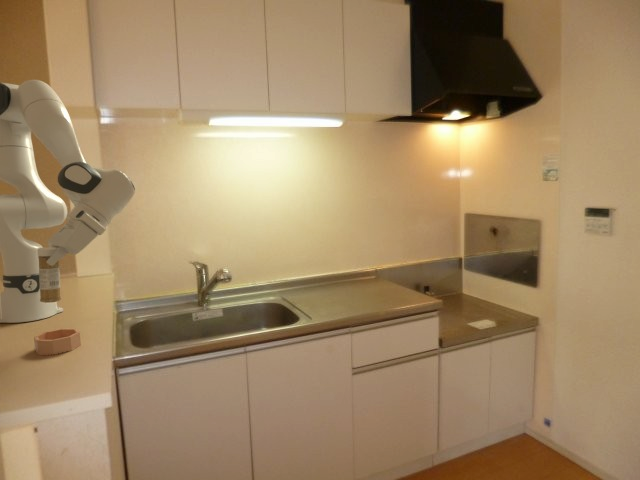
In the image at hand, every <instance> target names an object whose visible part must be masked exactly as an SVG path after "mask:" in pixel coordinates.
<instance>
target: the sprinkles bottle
mask: <svg viewBox="0 0 640 480" xmlns="http://www.w3.org/2000/svg"><path fill="white" fill-rule="evenodd" d="M57 249H58V248H57V247H51V246H47V247H43V248H39V249H38V258H39V283H40V301H41V302H44V303H50V302H59V301H61V300H62V297H61V271H60V260H59V261H57V262H56V263H55V264H54V265H53V266H50V265H48V264H47V263H46V262H45V261H46V260H47V259H48V258H49V257H50V256H51V255H52V254H53V253H54V252H56V250H57Z"/></svg>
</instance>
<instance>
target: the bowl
mask: <svg viewBox="0 0 640 480" xmlns="http://www.w3.org/2000/svg"><path fill="white" fill-rule="evenodd" d="M33 339H34V350H35V352H36V354H37V355H38V356H39V355H41V356H42V355H45V356H49V355H50V356H53V354H55V355H58V353H59V354H62V352H63V353H67V352H66V351H68V352H72V351H73V349H74V350H75V349H77V348H78V347H80V346H81V345H82V344H81V343H82V342H81V331H80V330H78V329H77V328H57V329H55V330H54V329H53V330H49V331H44V332H41V333H40V334H39V333H38V334H37V335H35V336H34V337H33ZM48 354H49V355H48ZM51 354H52V355H51Z"/></svg>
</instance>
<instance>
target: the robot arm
mask: <svg viewBox="0 0 640 480" xmlns="http://www.w3.org/2000/svg"><path fill="white" fill-rule="evenodd" d="M32 134H33V135H34V136H35V137H36V139H38V140H39V142H40V143H41V144H42V145H43V146H44V148H45V149H47V150H48V151H49V153H51V155H52V156H53V157H54V158H55V160H57V162H58V163H59V164H60V166H61V167H62V168H61V170H60V171H59V172H58V175H57V183H58V184H59V187H60V189H61V190H62V191H63V193H64V194H65V195H66V197H67V198H68V199H69V200H70V202H71V203H72V204H73V208H72V209H71V210H70V211H69V212H68V207H67V203H65V201H64V199H62V198H61V197H60V196H59V195H58V194H57V195H56V194H55V193H54V192H52V191H51V190H50V189H49V188H48V187H47V186H46V185H45V183H44V182H43V181H42V180H41V178H40V176H39V173H38V168H37V165H36V159H35V152H34V148H33V147H34V146H33V141H32ZM0 181H1V182H3V183H6V184H8V185H10V186H12V187H13V188H15V189H16V190H17V191H18V194H17V193H15V194H14V193H13V194H11V193H10V194H7V193H6V194H5V193H3V194H2V193H1V194H0V255H1V260H2V267H3V275H2V279H1V280H2V287H3V290H2V292H0V323H5V324H6V323H8V324H12V323H13V324H15V323H24V322H25V323H26V322H32V321H34V322H35V321H38V320H44V319H46V318H49V317H52V316H54V315H57V314H59V313H63V312H64V308H63V307H60V306H58V303H57V302H58V301H57V302H50V303H44V302H41V301H40V283H39V258H38V249H39V248H44V247H43V246H42V244H40V243H39V242H36V241H34V240H31V239H28V238H25V237H24V236H23V235H22V230H30V229H31V230H32V229H47V228H52V227H57V226H60V225H62V224H63V223H64V222H65V221H66V219H68V220H67V221H66V222H65V224H64V225H63V226H62V227H61V228H59V229H58V230H57V231H56V232H55V233H54V234H52V236H51V237H50V238H48V240H47V242H46V244H47V245H48V246H49V247H57V248H58V249H57V250H56V252H54V253H53V254H52V255H51V256H50V257H49V258H48V259H47V260H46V261H45V262H46V263H47V264H48V265H50V266H53V265H54V264H55V263H56V262H57V261H59V262H60V260H62V259H63V258H64V257H65V256H67V254H69V255H74V256H75V255H78V254H79V253H80V252H82V251H83V250H84V249H86V248H87V246H89V244H91V243H92V242H93V241H94V240H95V239H96V238H98V236H101V235H103V234H104V233H105V231H106V230H107V227H108V225H110V223H111V221H112V219H113V218H114V217H115V216H116V215H118V214H119V213H120V212H122V210H124V208H125V207H126V206H128V203H130V201H131V200H132V198H133V197H134V195H135V193H136V188H135V186H134V183H133V181H132V180H131V179H130V177H129V176H128V175H127V174H126V173H124V172H123V171H121V170H120V169H103V168H100V167H99V168H98V167H95V166H92V165H90V164H88V163H87V162H86V160H85V158H84V156H83V152H82V150H81V147H80V144H79V141H78V138H77V136H76V131H75V129H74V124H73V122H72V119H71V116H70V114H69V111H68V110H67V107H66V106H65V104H64V102H63V101H62V99H61V98H60V97H59V95H58V94H57V92H56V91H55V90H54V89H53V88H52V87H51V86H50V85H49V84H48V83H46V82H44V81H42V80H39V79H29V80H24V81H23V82H22V83H21V84H14V83H13V84H12V83H9V82H8V83H7V82H0Z"/></svg>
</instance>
